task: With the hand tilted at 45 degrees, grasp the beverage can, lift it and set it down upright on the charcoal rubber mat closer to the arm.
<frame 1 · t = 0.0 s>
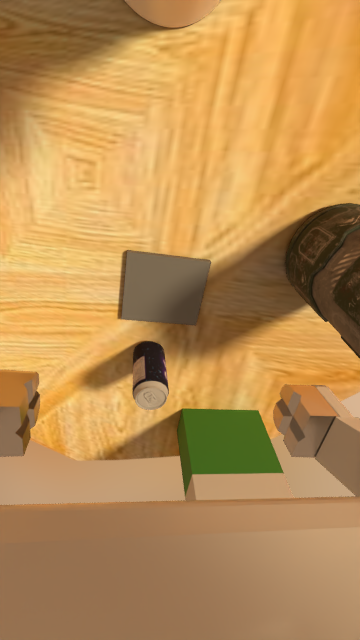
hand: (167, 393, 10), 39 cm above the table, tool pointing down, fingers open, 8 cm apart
mat: (164, 289, 52), on the table
beverage can: (148, 349, 59), on the table
canister: (328, 250, 52), on the table
hardback book: (217, 420, 72), on the table
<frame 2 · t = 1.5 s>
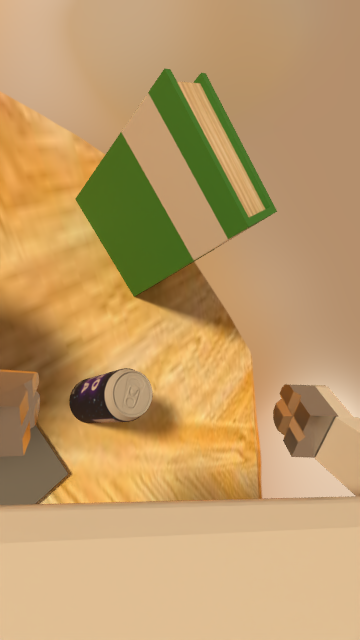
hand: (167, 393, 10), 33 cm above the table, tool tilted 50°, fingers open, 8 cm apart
beverage can: (87, 400, 42), on the table
hardback book: (121, 242, 53), on the table
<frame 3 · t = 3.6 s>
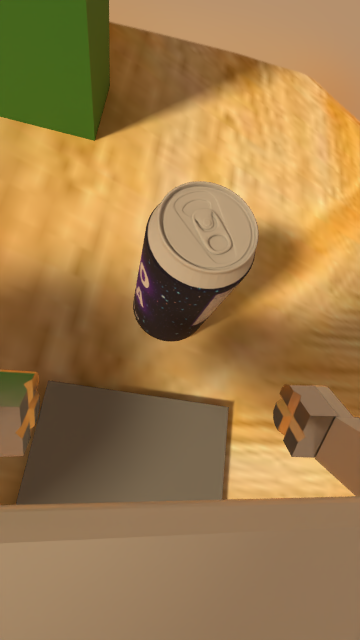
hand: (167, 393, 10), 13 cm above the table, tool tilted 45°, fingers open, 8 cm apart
mat: (126, 485, 21), on the table
beverage can: (167, 311, 26), on the table
hardback book: (7, 88, 30), on the table
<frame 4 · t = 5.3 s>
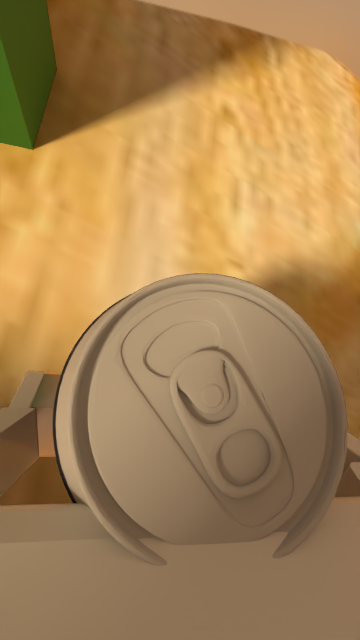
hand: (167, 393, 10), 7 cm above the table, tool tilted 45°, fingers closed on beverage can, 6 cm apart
beverage can: (145, 416, 17), on the table, touching gripper
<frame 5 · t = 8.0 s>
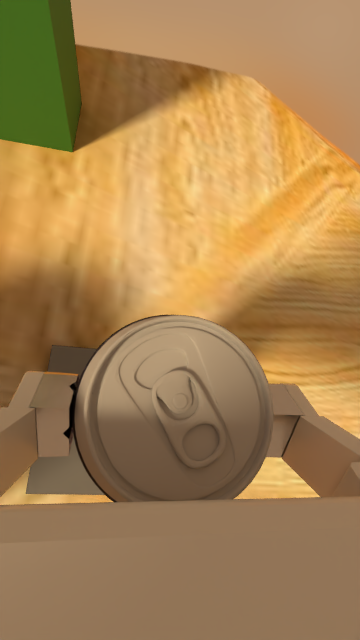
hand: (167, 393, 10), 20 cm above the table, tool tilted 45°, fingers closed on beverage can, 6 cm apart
mat: (117, 418, 28), on the table
beverage can: (141, 410, 19), point 10 cm above the table, touching gripper
when the fingers open (9 cm above the table, at t = 10.8 s): beverage can stays where it is, resting on mat.
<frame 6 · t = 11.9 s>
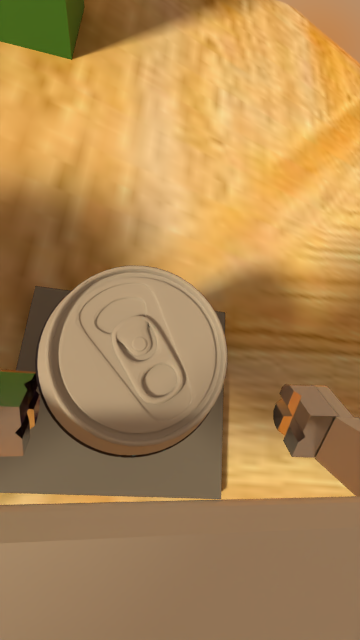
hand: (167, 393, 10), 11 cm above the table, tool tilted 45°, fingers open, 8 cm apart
mat: (124, 389, 21), on the table
beverage can: (112, 384, 20), point 1 cm above the table, touching mat
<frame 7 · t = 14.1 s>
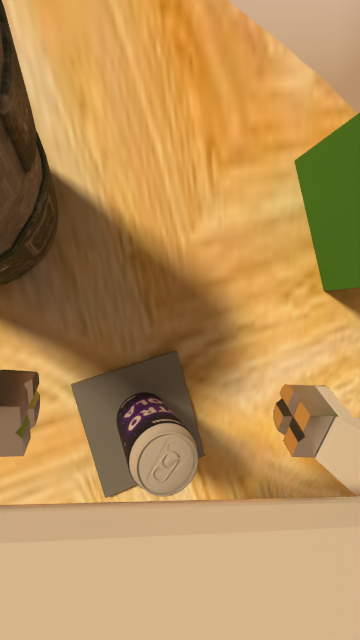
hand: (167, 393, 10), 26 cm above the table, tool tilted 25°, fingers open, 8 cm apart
mat: (141, 420, 36), on the table
beverage can: (141, 415, 35), point 1 cm above the table, touching mat
hardback book: (330, 222, 43), on the table
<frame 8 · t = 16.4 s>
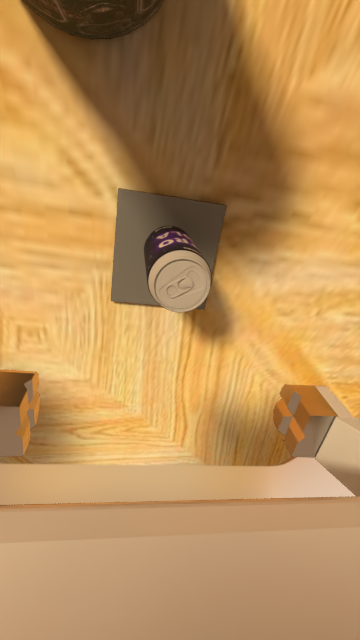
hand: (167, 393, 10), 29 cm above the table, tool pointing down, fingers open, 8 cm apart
mat: (165, 253, 38), on the table
beverage can: (167, 248, 37), point 1 cm above the table, touching mat
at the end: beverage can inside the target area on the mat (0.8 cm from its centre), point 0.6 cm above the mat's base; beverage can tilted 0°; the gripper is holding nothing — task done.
